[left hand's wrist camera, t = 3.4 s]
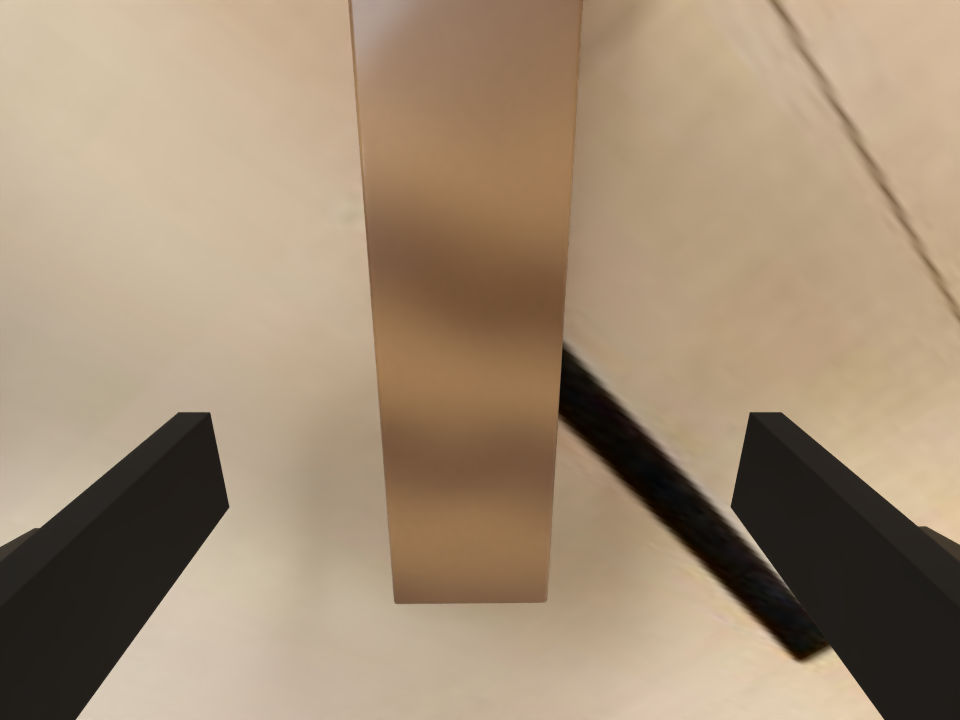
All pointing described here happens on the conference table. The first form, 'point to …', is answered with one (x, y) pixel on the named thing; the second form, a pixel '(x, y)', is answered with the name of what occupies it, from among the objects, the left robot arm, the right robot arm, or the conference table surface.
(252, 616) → the conference table surface
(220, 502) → the left robot arm
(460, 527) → the bar
